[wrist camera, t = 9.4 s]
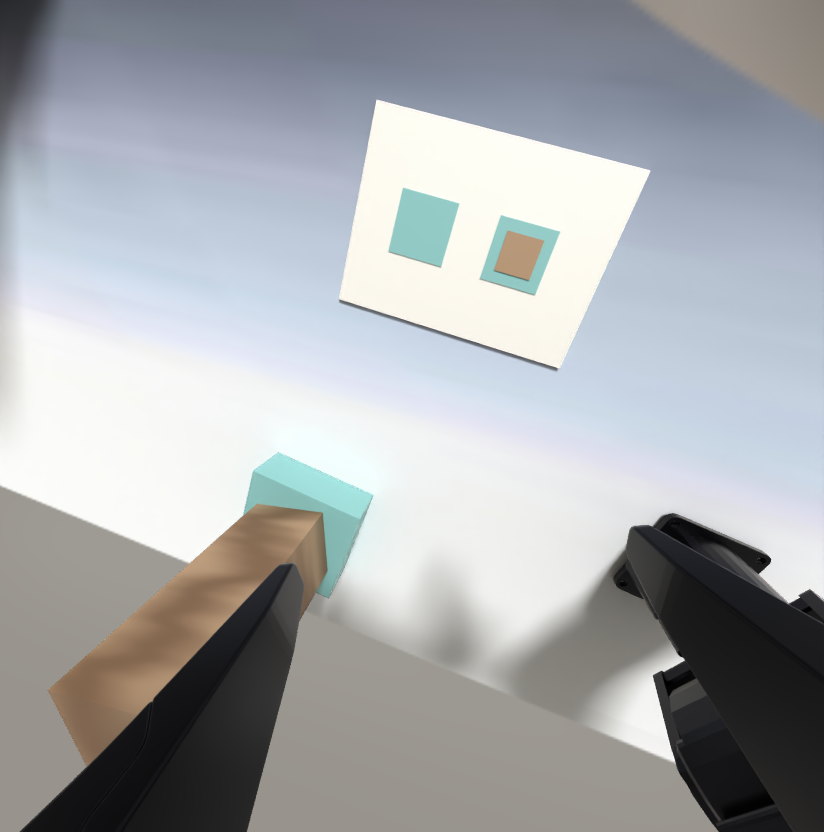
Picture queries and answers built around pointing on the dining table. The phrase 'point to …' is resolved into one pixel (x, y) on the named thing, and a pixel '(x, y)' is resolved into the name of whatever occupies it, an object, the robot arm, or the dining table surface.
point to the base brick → (313, 506)
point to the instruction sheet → (483, 231)
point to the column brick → (184, 621)
